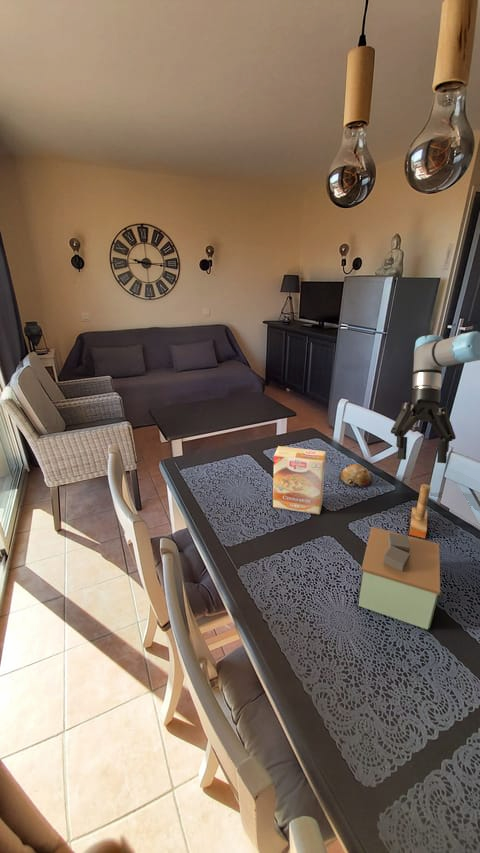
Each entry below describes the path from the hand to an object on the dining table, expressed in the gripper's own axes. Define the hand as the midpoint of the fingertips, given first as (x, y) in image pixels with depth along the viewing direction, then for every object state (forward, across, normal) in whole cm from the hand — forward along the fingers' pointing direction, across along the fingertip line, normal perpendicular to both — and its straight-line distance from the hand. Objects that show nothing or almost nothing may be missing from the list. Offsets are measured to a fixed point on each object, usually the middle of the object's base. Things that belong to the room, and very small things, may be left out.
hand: (421, 461), depth 105 cm
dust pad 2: (+22, +23, +22) cm, 39 cm away
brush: (+19, -1, -1) cm, 19 cm away
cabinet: (+32, +18, +16) cm, 40 cm away
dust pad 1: (+20, +20, +18) cm, 34 cm away
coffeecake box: (+18, +29, -20) cm, 40 cm away
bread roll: (+9, +5, -27) cm, 29 cm away
